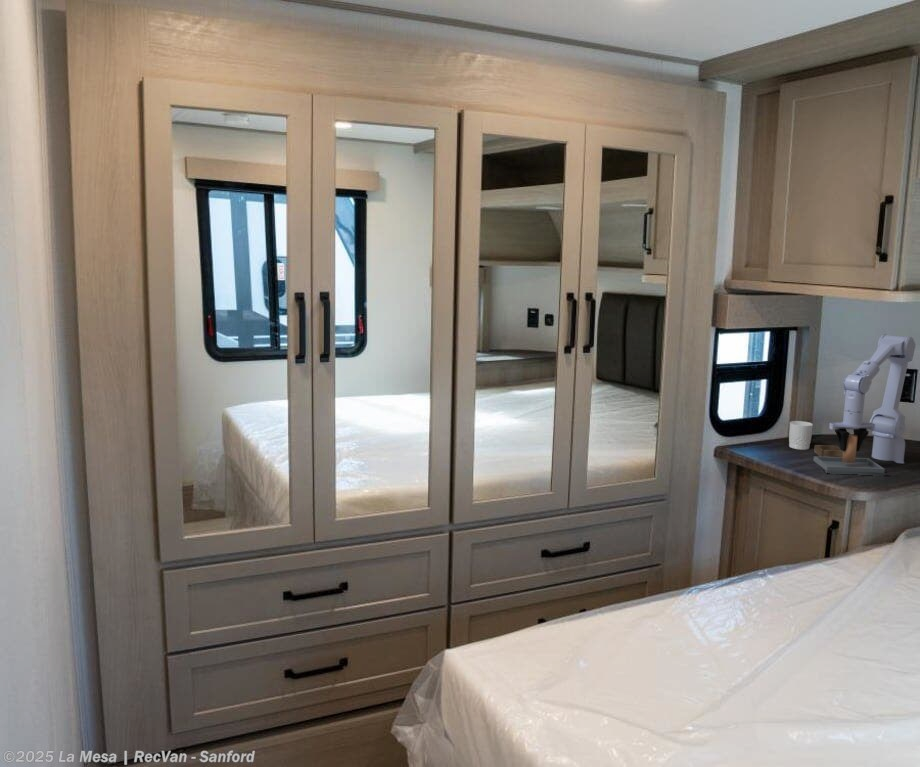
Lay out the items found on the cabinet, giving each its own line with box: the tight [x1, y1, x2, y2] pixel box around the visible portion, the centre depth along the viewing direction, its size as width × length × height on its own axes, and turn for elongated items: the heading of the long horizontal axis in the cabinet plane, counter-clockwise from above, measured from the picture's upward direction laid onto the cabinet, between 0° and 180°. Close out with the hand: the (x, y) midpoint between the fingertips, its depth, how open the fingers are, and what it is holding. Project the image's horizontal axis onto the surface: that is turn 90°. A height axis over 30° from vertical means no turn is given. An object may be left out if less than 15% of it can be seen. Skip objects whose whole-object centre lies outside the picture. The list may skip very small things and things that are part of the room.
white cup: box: [788, 420, 814, 451], centre depth 282 cm, size 8×8×10 cm
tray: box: [813, 455, 886, 477], centre depth 257 cm, size 18×13×2 cm
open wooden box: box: [813, 444, 843, 457], centre depth 272 cm, size 8×8×4 cm
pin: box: [842, 433, 858, 463], centre depth 256 cm, size 4×4×9 cm
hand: (849, 450), depth 256 cm, fingers closed on pin, 4 cm apart
